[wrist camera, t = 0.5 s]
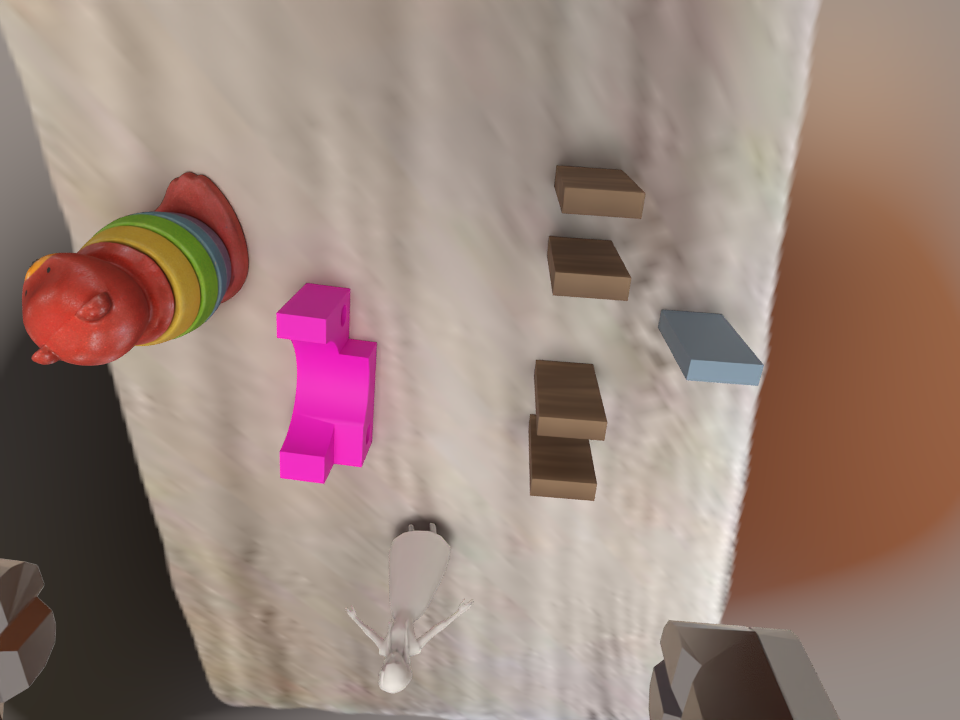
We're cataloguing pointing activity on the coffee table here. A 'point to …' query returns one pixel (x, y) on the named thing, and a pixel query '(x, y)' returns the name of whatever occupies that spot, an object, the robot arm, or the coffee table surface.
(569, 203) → the domino
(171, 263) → the stacking bear
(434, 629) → the woman figurine
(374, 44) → the coffee table surface
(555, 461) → the domino
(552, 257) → the domino
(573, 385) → the domino
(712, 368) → the domino
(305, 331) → the toy block
